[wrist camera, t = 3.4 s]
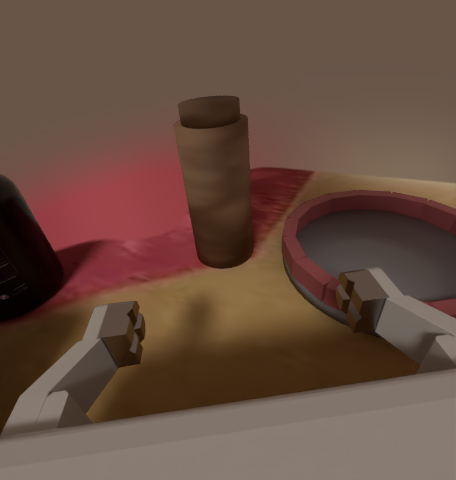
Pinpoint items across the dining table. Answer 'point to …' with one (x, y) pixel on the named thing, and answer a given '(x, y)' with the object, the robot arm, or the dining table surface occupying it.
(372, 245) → the round tray
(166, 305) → the dining table surface
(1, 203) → the supplement bottle
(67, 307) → the dining table surface
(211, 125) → the pepper mill
